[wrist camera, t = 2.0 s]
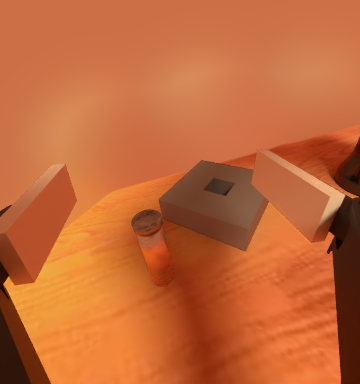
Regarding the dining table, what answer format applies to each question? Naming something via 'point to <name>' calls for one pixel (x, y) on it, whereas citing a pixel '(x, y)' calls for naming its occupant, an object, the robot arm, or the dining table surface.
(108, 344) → the dining table surface
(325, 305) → the dining table surface
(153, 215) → the steel pin
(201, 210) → the block
